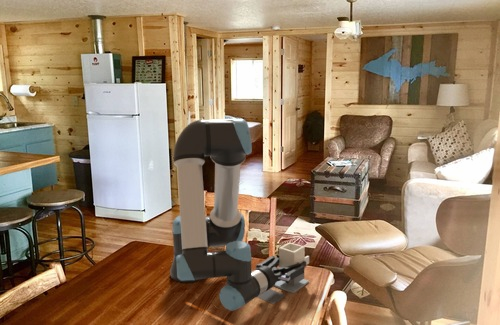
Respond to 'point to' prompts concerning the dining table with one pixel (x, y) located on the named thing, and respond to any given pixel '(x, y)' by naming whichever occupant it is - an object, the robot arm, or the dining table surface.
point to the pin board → (291, 285)
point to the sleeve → (291, 258)
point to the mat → (271, 296)
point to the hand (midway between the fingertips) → (299, 256)
